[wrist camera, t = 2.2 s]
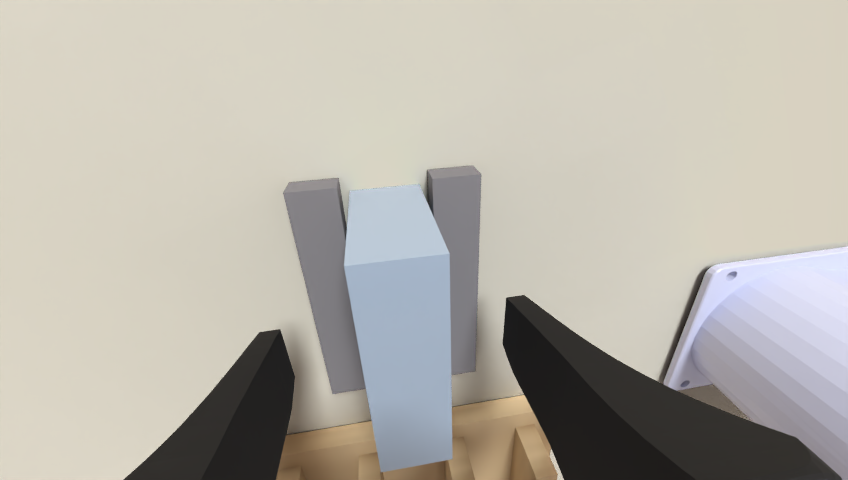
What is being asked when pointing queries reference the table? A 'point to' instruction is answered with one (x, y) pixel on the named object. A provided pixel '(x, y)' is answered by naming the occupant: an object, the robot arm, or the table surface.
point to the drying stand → (326, 280)
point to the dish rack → (461, 476)
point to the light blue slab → (402, 322)
